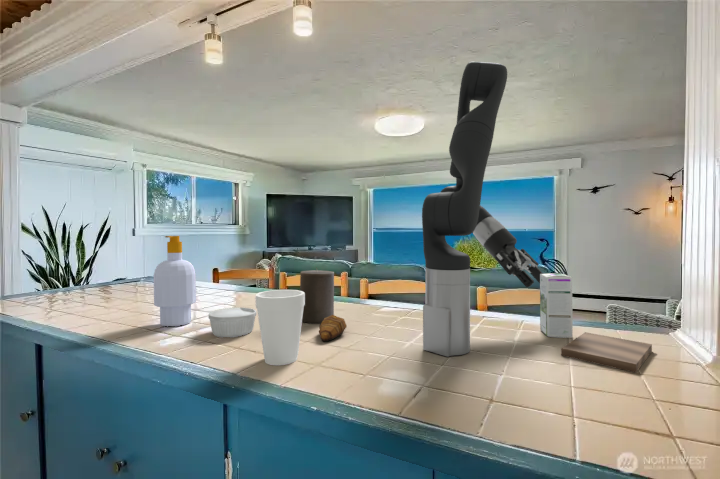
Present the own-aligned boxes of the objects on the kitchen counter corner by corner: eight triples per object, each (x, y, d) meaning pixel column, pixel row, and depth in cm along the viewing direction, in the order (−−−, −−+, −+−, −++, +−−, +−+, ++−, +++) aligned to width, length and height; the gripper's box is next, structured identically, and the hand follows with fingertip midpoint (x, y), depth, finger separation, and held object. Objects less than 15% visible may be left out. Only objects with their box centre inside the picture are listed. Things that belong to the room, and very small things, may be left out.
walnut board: (636, 372, 62) (636, 364, 62) (561, 355, 71) (561, 347, 71) (651, 351, 73) (651, 344, 73) (585, 338, 82) (585, 332, 82)
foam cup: (313, 354, 72) (312, 290, 72) (290, 371, 64) (289, 299, 63) (273, 349, 75) (272, 288, 75) (246, 364, 67) (245, 296, 66)
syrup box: (573, 338, 82) (574, 276, 82) (546, 337, 83) (546, 275, 83) (564, 331, 88) (565, 273, 87) (538, 330, 89) (539, 272, 89)
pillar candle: (304, 325, 95) (305, 269, 95) (296, 317, 104) (296, 266, 103) (338, 321, 99) (339, 268, 98) (327, 314, 108) (328, 265, 107)
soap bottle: (145, 328, 93) (143, 236, 92) (172, 318, 103) (170, 235, 102) (180, 329, 91) (178, 236, 91) (204, 319, 101) (203, 235, 101)
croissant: (338, 344, 79) (338, 322, 79) (310, 342, 80) (310, 320, 80) (353, 328, 92) (353, 309, 92) (328, 327, 94) (328, 308, 93)
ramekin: (265, 330, 90) (265, 310, 90) (228, 342, 81) (228, 319, 81) (237, 324, 96) (236, 305, 96) (199, 334, 87) (199, 313, 87)
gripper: (490, 227, 90) (538, 276, 82) (515, 227, 99) (559, 271, 91) (471, 247, 94) (515, 296, 86) (496, 245, 103) (537, 289, 95)
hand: (537, 283), depth 88 cm, fingers open, 8 cm apart
